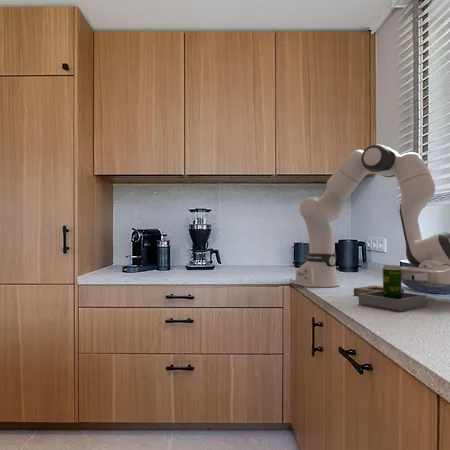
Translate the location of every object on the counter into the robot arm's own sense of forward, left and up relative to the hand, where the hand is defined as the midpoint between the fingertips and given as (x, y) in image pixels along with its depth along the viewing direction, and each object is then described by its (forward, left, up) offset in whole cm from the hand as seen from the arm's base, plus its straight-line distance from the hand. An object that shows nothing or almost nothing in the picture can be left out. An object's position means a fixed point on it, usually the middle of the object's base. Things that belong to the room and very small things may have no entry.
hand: (401, 275), depth 120 cm
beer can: (-1, -4, -9) cm, 10 cm away
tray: (-1, -4, -9) cm, 10 cm away
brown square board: (-15, +9, -9) cm, 20 cm away
